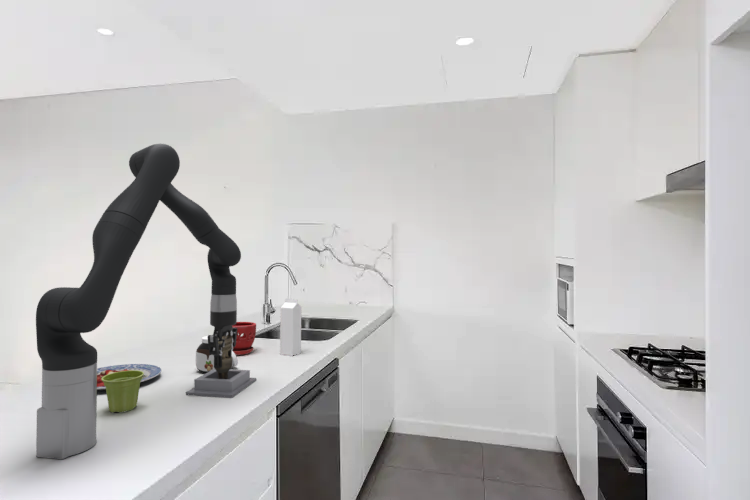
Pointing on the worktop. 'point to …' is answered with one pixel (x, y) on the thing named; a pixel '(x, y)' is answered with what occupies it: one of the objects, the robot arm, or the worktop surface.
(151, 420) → the worktop surface
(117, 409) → the plant pot
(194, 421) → the worktop surface
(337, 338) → the worktop surface
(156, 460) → the worktop surface
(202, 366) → the spread jar
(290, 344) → the milk
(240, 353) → the plant pot
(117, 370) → the ceramic plate
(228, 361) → the brown tall knobbly piece
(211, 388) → the socket board
